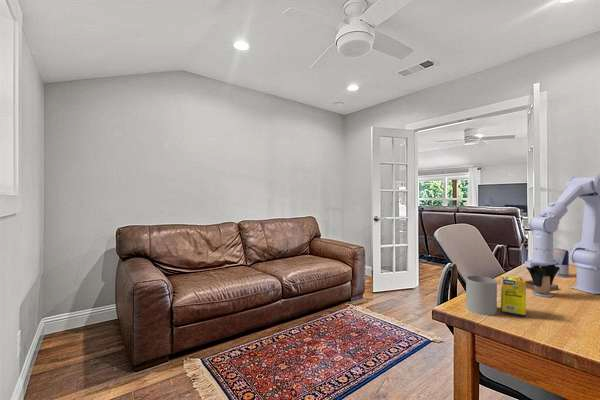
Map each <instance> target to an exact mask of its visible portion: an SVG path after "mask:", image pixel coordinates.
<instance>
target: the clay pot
mask: <svg viewBox="0 0 600 400" xmlns="http://www.w3.org/2000/svg"><path fill="white" fill-rule="evenodd" d="M533 291H536V292H539V293H545V294H549V293H551V290H550V276H548V275H543V278H542V286H541V287H538V286H535V285H534V290H533Z"/></svg>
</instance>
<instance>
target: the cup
mask: <svg viewBox="0 0 600 400" xmlns="http://www.w3.org/2000/svg"><path fill="white" fill-rule="evenodd" d="M465 293H466V294H465V306H466V307H465V308H466V310H467V311H469V312H471V313H473V314H476V315H480V316H495V315H497V312H498V281H497V280H496V279H494V278H491V277H487V276H484V275H483V276H482V275H468V276H466V277H465Z"/></svg>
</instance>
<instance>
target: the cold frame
mask: <svg viewBox="0 0 600 400" xmlns="http://www.w3.org/2000/svg"><path fill="white" fill-rule="evenodd" d="M525 282H526V289H529V290H531V291H534V283H533V280H532V279H531V280H525ZM556 290H559V285H558V284H554V283H552V285H551V286H550V291H556Z"/></svg>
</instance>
